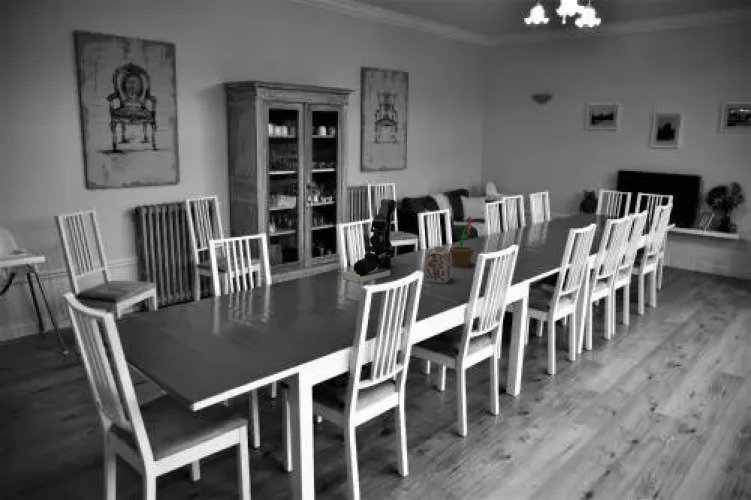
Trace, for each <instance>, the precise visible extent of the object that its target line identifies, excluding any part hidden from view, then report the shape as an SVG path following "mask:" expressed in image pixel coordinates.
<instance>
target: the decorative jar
mask: <svg viewBox="0 0 751 500" xmlns="http://www.w3.org/2000/svg"><path fill="white" fill-rule="evenodd" d="M451 265H452V255H451V253H450V250H448V249H446V248H445V249H444V246H440V245H439V246H434V248H433V249H428V250H427V252H426V256H425V266H424V267H425V268H424V282H426V283H436V284H447V283H448V281H449V280H450V279H451Z"/></svg>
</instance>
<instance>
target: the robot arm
mask: <svg viewBox="0 0 751 500" xmlns="http://www.w3.org/2000/svg"><path fill="white" fill-rule="evenodd" d="M397 204H398V203H397V201H396V200H395V199H389V198H382V199H381V200H380V206H379V208H378V209H379V210H378V212H377V213H378V214H377V215H375V216H374V217H373V219H372V221H371V225H370V233H372V235H371V236H370V238H369V243H370V244H367V245H364V251H365V252H367V253H365V254H364V255H363V256H364V257H363V258H367V259H370V260H375V259H376V260H378V267H377V268H378V269H379V270H381V269H391V268H394V266H393V265H392V258H395V248H393V243H392V242H391V230H392V221H393V220H392V219H393V215H394V213H395V212H396V208H397V206H398V205H397Z"/></svg>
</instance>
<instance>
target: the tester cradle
mask: <svg viewBox="0 0 751 500" xmlns="http://www.w3.org/2000/svg"><path fill="white" fill-rule="evenodd" d="M376 271H377V268H376V269H375V270H373V271H371V272H369V275H366V276H362V277H360V275H357V274H356V272H355V271H354V270H350V269H349V270H348V271H345V270H344V271H342V280H346V281H350V282H353V283H357V284H360V283H366V282H368V281H373V280H377V279H381V278H384V277H385V278H386V277H390V276H391V270H386V271H383V272H382V271H381V272H378V273H376Z"/></svg>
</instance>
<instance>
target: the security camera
mask: <svg viewBox="0 0 751 500" xmlns="http://www.w3.org/2000/svg"><path fill="white" fill-rule="evenodd" d="M377 268H379V267H378V260H376V259H375V260H370V259H367V258H364V257H363V258H362V259H359V260H357V261H356V262H354V263H353V271H355V272H356V274H357V275H360V277H362V276H366V275H370V273H369V272H371V271H373V270H375V269H376V270H377Z"/></svg>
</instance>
